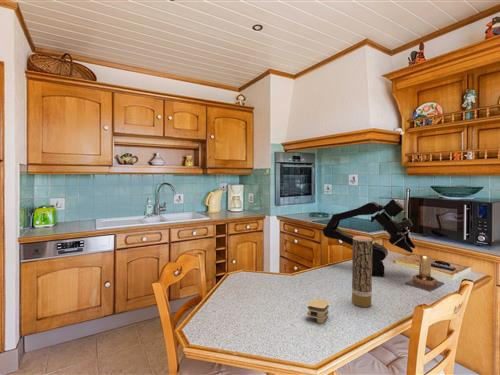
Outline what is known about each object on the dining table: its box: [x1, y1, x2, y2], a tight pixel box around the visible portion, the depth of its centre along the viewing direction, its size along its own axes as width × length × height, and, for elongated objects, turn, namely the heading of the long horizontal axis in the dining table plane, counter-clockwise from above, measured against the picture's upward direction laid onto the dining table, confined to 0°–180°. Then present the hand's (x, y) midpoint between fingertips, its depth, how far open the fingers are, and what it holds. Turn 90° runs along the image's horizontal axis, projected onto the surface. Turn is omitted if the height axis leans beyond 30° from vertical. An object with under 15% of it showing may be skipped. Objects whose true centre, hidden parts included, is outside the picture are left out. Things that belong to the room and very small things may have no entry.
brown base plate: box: [404, 273, 445, 292], centre depth 120 cm, size 14×10×3 cm
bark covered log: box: [351, 235, 373, 308], centre depth 101 cm, size 7×7×25 cm
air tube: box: [418, 254, 432, 281], centre depth 119 cm, size 4×4×12 cm
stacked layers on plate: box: [306, 298, 330, 324], centre depth 91 cm, size 10×9×6 cm
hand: (413, 249), depth 122 cm, fingers open, 9 cm apart
